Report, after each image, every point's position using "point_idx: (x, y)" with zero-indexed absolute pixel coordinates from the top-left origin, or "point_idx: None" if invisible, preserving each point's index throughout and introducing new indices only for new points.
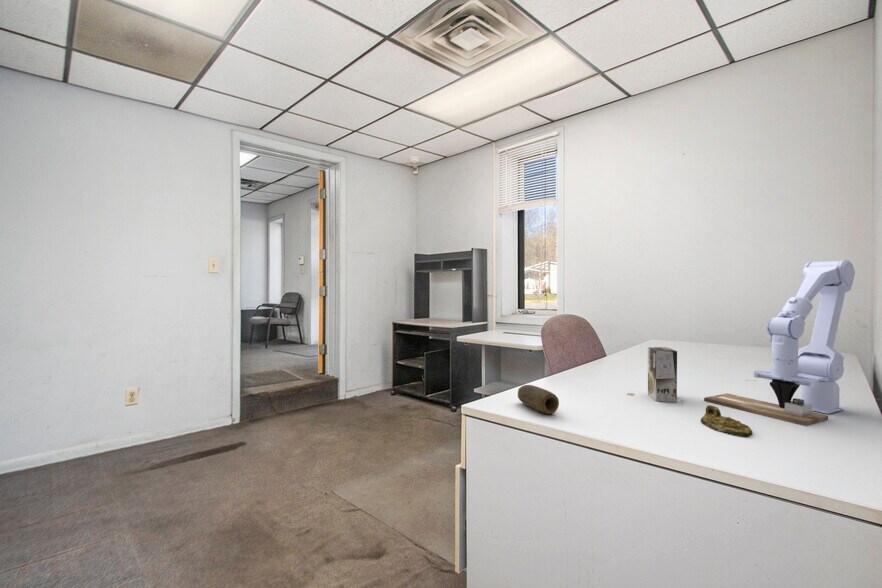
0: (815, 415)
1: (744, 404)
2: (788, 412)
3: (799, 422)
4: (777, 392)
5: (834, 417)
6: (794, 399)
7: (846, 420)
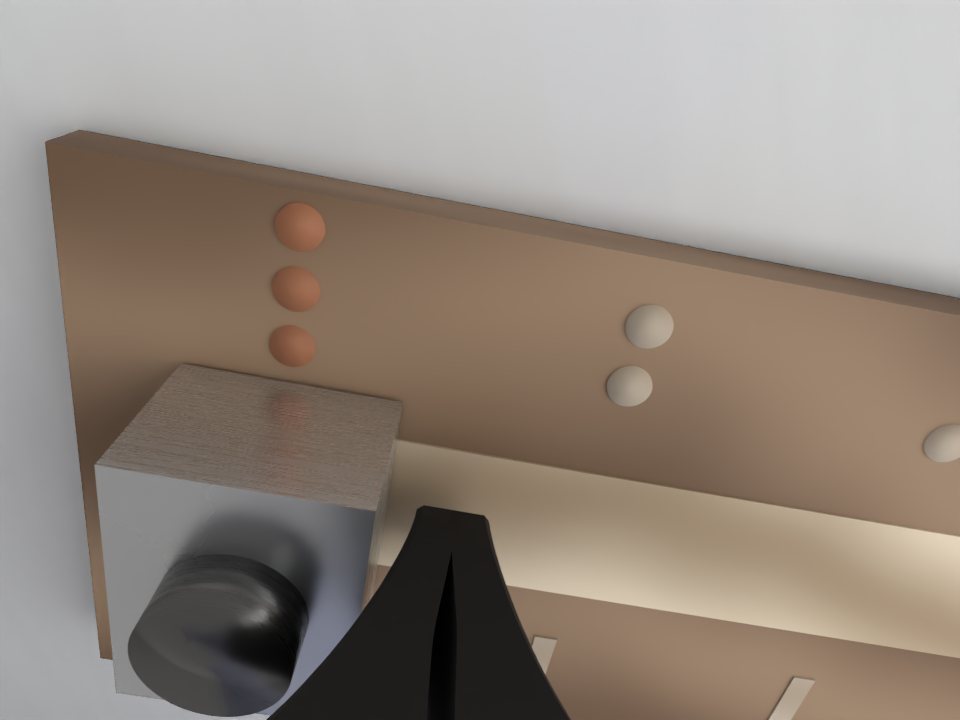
0: None
1: (927, 475)
2: (350, 409)
3: (139, 153)
4: (505, 699)
5: (131, 714)
6: (244, 626)
7: (30, 691)
